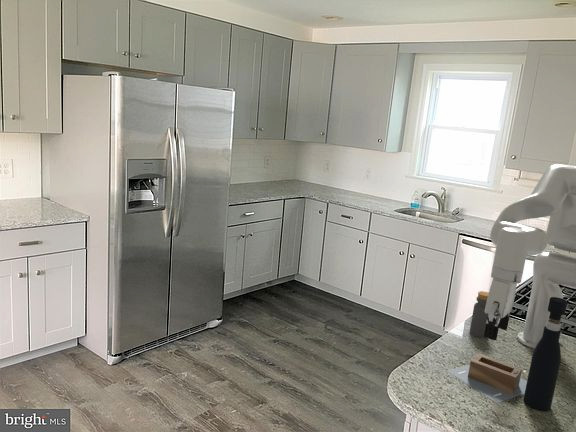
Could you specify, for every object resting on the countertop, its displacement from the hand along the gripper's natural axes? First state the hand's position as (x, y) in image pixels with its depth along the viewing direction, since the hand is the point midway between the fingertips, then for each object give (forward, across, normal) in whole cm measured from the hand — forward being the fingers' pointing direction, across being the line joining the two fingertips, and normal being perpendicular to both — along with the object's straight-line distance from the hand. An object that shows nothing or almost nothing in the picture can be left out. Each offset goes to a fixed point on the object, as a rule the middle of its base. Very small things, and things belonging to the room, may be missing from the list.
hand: (495, 333), depth 136 cm
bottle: (+15, -32, -12) cm, 37 cm away
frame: (+14, -1, +2) cm, 14 cm away
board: (+15, -1, +1) cm, 15 cm away
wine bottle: (+15, +3, +14) cm, 21 cm away
